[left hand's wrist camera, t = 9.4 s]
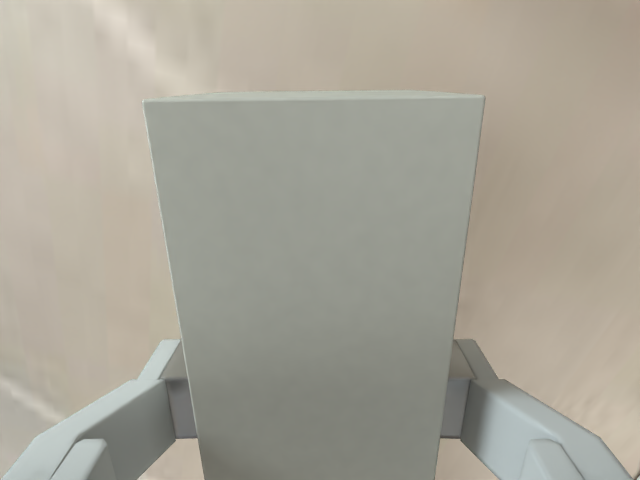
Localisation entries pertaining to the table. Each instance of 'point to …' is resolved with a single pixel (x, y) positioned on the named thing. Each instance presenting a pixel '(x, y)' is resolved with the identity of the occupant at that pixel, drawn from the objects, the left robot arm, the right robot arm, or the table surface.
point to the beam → (316, 273)
